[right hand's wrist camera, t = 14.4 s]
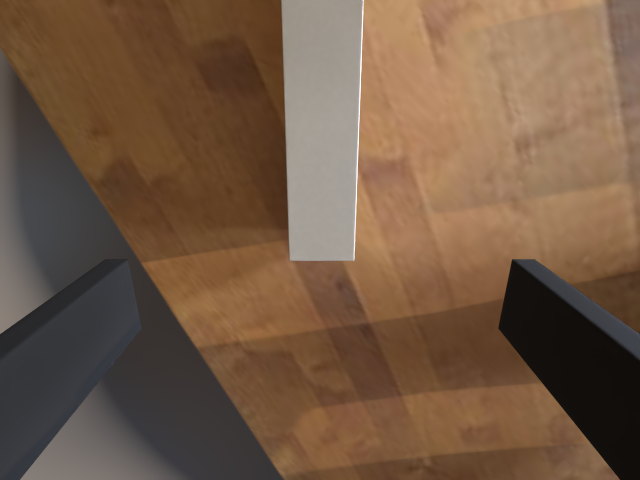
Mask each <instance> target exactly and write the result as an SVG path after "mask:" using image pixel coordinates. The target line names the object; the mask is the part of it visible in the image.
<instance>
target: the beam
mask: <svg viewBox="0 0 640 480" xmlns="http://www.w3.org/2000/svg"><path fill="white" fill-rule="evenodd" d="M281 11H282V43H283V74H284V106H285V138H286V170H287V201H288V233H289V260H290V261H354V250H355V222H356V194H357V166H358V139H359V111H360V83H361V55H362V28H363V0H281Z"/></svg>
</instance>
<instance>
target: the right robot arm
mask: <svg viewBox="0 0 640 480" xmlns="http://www.w3.org/2000/svg"><path fill="white" fill-rule="evenodd" d="M498 329H499V330H500V331H501V332H502V333H503V335H504V336H505V337H506V338H507V340H508V341H509V342H510V343H511V345H512V346H513V347H514V348H515V350H516V351H517V352H518V353H519V355H520V356H521V357H522V358H523V360H524V361H525V362H526V363H527V365H528V366H529V367H530V368H531V370H532V371H533V372H534V373H535V374H536V376H537V377H538V378H539V379H540V381H541V382H542V383H543V384H544V386H545V387H546V388H547V389H548V391H549V392H550V393H551V394H552V396H553V397H554V398H555V399H556V401H557V402H558V403H559V404H560V406H561V407H562V408H563V409H564V411H565V412H566V413H567V414H568V415H569V417H570V418H571V419H572V420H573V422H574V423H575V424H576V425H577V427H578V428H579V429H580V430H581V432H582V433H583V434H584V435H585V437H586V438H587V439H588V440H589V442H590V443H591V444H592V445H593V447H594V448H595V449H596V450H597V451H598V453H599V454H600V455H601V456H602V458H603V459H604V460H605V461H606V463H607V464H608V465H609V466H610V468H611V469H612V470H613V471H614V473H615V474H616V475H617V476H618V478H619V479H620V480H640V334H639V333H637V332H636V331H634V330H633V329H632V328H630V327H629V326H627V325H626V324H625V323H623V322H622V321H620V320H619V319H618V318H616V317H615V316H613V315H612V314H611V313H609V312H608V311H606V310H605V309H604V308H602V307H601V306H599V305H598V304H597V303H595V302H594V301H592V300H591V299H589V298H588V297H587V296H585V295H584V294H582V293H581V292H580V291H578V290H577V289H575V288H574V287H573V286H571V285H570V284H568V283H567V282H566V281H564V280H563V279H561V278H560V277H559V276H557V275H556V274H554V273H553V272H552V271H550V270H549V269H547V268H546V267H544V266H543V265H542V264H540V263H539V262H537V261H536V260H535V259H512V263H511V268H510V273H509V278H508V283H507V288H506V293H505V298H504V303H503V308H502V313H501V318H500V323H499V328H498ZM140 330H141V323H140V318H139V313H138V308H137V303H136V298H135V293H134V288H133V283H132V278H131V273H130V268H129V263H128V260H127V259H106V260H104V261H103V262H101V263H100V264H98V265H97V266H96V267H94V268H93V269H91V270H90V271H89V272H87V273H86V274H84V275H83V276H82V277H80V278H79V279H77V280H76V281H74V282H73V283H72V284H70V285H69V286H67V287H66V288H65V289H63V290H62V291H60V292H59V293H58V294H56V295H55V296H53V297H52V298H51V299H49V300H48V301H46V302H45V303H44V304H42V305H41V306H39V307H38V308H37V309H35V310H34V311H32V312H31V313H29V314H28V315H27V316H25V317H24V318H22V319H21V320H20V321H18V322H17V323H15V324H14V325H13V326H11V327H10V328H8V329H7V330H6V331H4V332H3V333H1V334H0V480H20V479H21V478H22V476H23V475H24V474H25V473H26V471H27V470H28V469H29V468H30V466H31V465H32V464H33V463H34V461H35V460H36V459H37V458H38V456H39V455H40V454H41V453H42V451H43V450H44V449H45V448H46V447H47V445H48V444H49V443H50V442H51V440H52V439H53V438H54V437H55V435H56V434H57V433H58V432H59V430H60V429H61V428H62V427H63V425H64V424H65V423H66V422H67V420H68V419H69V418H70V417H71V415H72V414H73V413H74V412H75V411H76V409H77V408H78V407H79V405H80V404H81V403H82V402H83V401H84V399H85V398H86V397H87V396H88V394H89V393H90V392H91V391H92V389H93V388H94V387H95V386H96V384H97V383H98V382H99V381H100V379H101V378H102V377H103V376H104V374H105V373H106V372H107V371H108V370H109V368H110V367H111V366H112V364H113V363H114V362H115V361H116V360H117V358H118V357H119V356H120V355H121V353H122V352H123V351H124V350H125V348H126V347H127V346H128V345H129V343H130V342H131V341H132V340H133V338H134V337H135V336H136V335H137V333H138V332H139V331H140Z"/></svg>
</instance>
